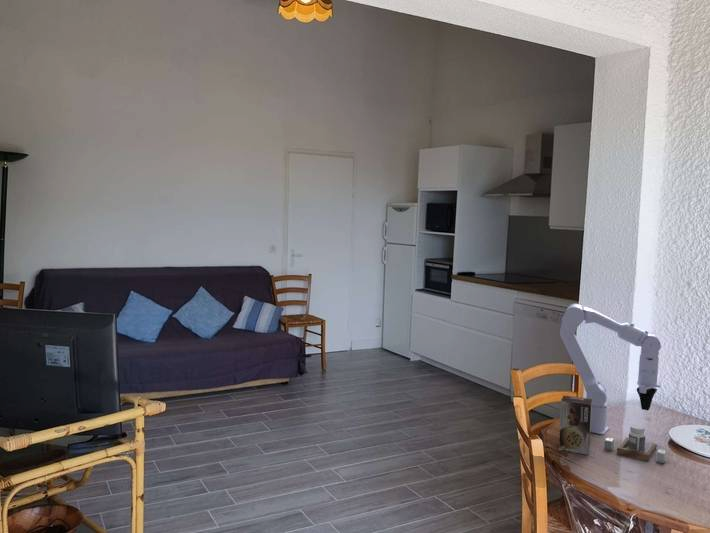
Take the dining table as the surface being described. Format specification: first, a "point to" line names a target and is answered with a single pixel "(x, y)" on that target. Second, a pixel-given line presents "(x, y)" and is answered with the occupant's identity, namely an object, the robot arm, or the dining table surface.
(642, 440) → the pill bottle
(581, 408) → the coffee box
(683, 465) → the dining table surface
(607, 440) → the white cubes brown bar
